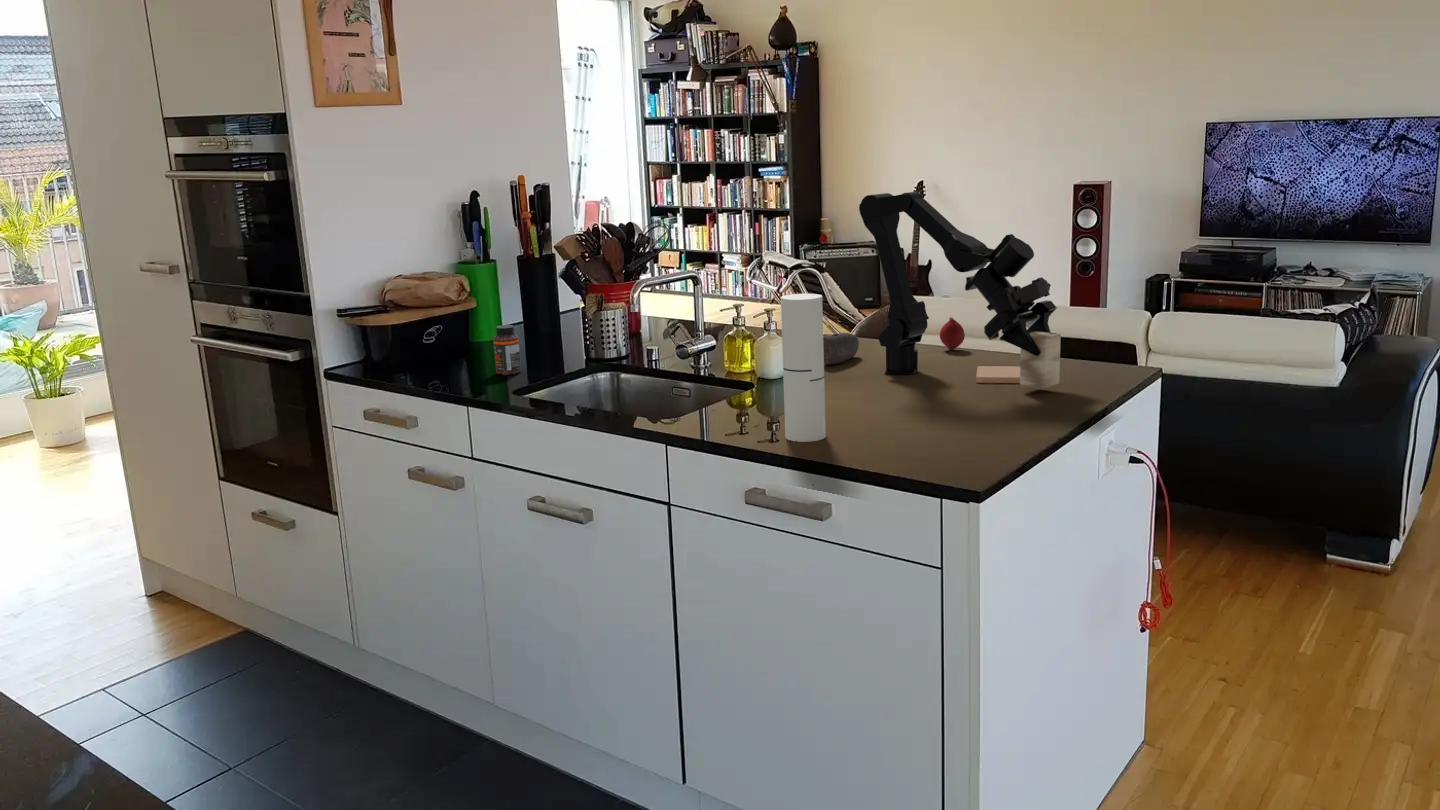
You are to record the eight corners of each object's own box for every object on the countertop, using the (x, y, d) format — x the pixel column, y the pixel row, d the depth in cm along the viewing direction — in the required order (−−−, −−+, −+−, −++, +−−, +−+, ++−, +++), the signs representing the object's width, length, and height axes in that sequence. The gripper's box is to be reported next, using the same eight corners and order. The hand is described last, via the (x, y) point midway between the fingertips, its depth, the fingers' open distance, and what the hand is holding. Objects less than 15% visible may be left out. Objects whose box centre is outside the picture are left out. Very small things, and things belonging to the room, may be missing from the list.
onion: (963, 347, 272) (963, 314, 270) (965, 352, 266) (966, 318, 264) (938, 348, 272) (938, 315, 270) (940, 352, 267) (940, 319, 265)
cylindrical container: (782, 432, 203) (778, 295, 197) (821, 430, 203) (818, 292, 197) (788, 443, 196) (783, 300, 190) (828, 440, 196) (825, 298, 190)
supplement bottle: (491, 373, 267) (486, 326, 264) (513, 369, 271) (508, 323, 268) (504, 376, 263) (500, 329, 260) (526, 372, 267) (522, 325, 264)
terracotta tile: (976, 382, 234) (976, 377, 234) (977, 371, 245) (977, 366, 244) (1030, 383, 232) (1030, 377, 231) (1029, 371, 242) (1029, 366, 242)
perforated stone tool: (849, 355, 269) (848, 326, 268) (867, 357, 266) (867, 328, 264) (812, 366, 258) (811, 336, 257) (831, 368, 255) (830, 338, 253)
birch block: (1020, 384, 224) (1020, 335, 222) (1034, 379, 228) (1035, 331, 225) (1044, 388, 220) (1046, 337, 218) (1059, 383, 224) (1060, 333, 221)
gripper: (998, 271, 215) (1048, 333, 210) (1049, 260, 227) (1098, 319, 222) (963, 308, 222) (1011, 369, 217) (1014, 296, 235) (1060, 353, 230)
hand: (1046, 352), depth 221 cm, fingers closed on birch block, 5 cm apart
